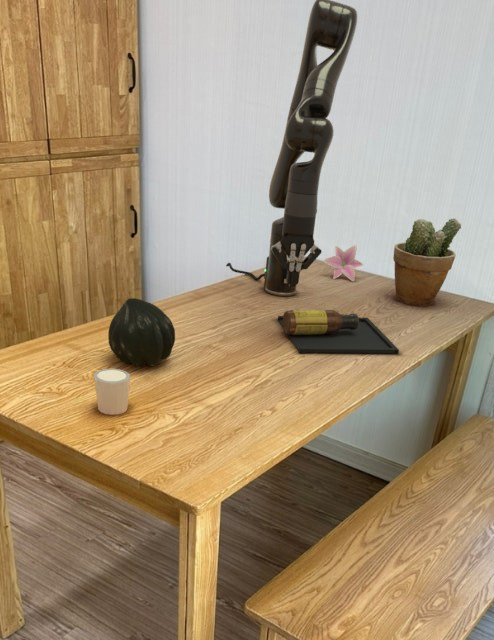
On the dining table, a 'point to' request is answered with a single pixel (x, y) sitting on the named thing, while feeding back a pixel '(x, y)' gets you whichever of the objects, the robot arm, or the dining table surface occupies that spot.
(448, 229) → the potted plant
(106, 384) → the white cup
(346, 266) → the lily
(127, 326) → the squash
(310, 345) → the tray
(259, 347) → the dining table surface
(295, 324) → the sauce bottle
